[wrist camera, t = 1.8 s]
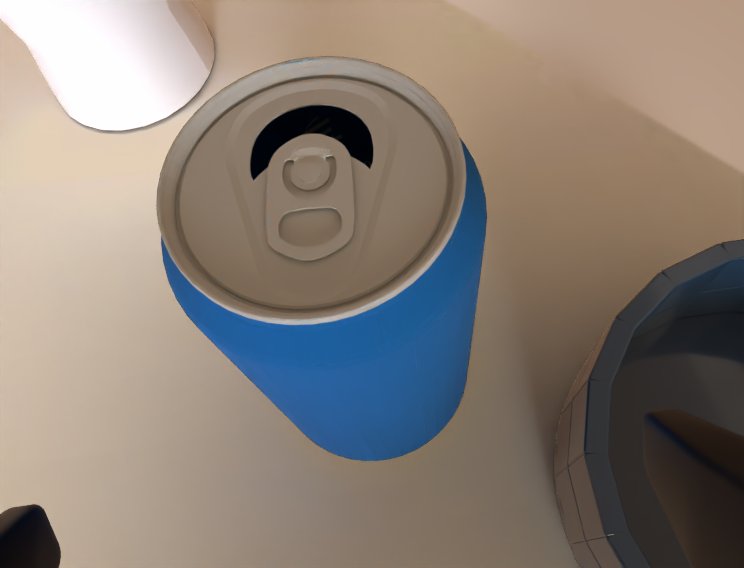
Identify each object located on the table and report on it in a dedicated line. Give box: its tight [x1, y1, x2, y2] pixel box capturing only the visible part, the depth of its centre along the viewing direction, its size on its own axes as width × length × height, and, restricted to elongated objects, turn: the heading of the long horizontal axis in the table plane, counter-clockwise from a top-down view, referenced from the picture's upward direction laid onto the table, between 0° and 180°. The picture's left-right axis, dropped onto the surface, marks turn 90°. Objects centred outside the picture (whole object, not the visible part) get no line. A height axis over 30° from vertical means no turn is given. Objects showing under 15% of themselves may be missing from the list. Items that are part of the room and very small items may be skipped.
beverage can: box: [157, 56, 487, 461], centre depth 16 cm, size 6×6×12 cm
